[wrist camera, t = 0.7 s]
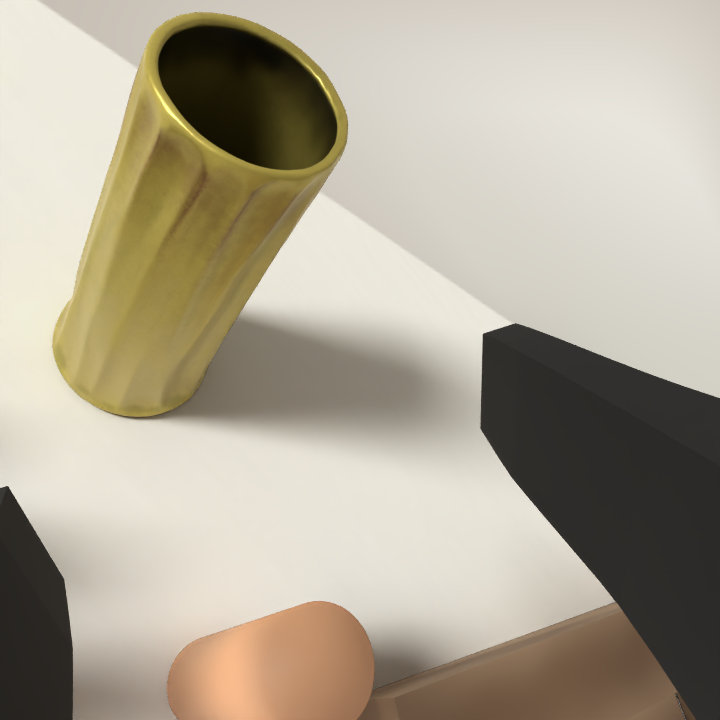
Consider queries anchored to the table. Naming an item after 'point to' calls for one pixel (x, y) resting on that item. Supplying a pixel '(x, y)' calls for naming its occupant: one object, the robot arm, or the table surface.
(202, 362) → the vase
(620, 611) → the hole block
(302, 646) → the peg
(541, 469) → the robot arm
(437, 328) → the table surface
